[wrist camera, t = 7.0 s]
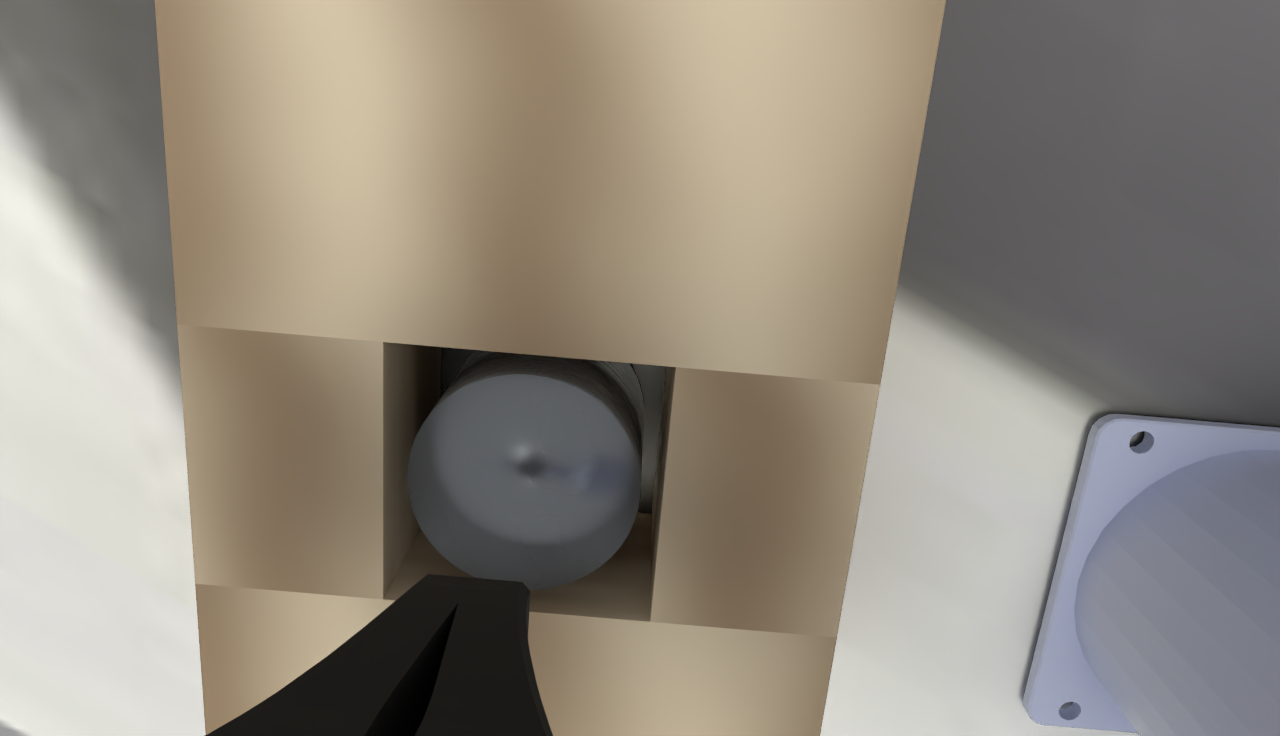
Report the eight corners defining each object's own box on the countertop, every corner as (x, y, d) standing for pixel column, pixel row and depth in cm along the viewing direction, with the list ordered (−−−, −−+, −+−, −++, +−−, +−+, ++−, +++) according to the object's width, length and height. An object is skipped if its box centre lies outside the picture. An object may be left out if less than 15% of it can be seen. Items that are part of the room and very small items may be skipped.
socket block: (967, -576, 15) (1089, -836, 11) (781, 654, 22) (810, 789, 18) (251, -643, 15) (90, -932, 11) (293, 613, 22) (206, 740, 18)
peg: (652, 326, 20) (651, 385, 16) (636, 504, 21) (630, 598, 17) (456, 310, 20) (407, 365, 16) (452, 489, 21) (406, 580, 17)
